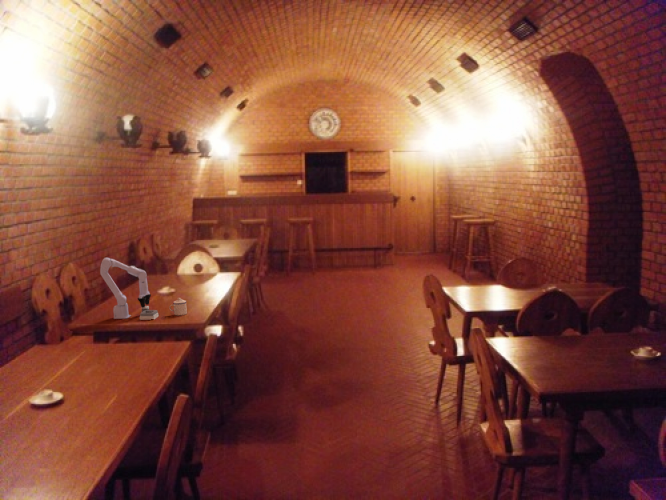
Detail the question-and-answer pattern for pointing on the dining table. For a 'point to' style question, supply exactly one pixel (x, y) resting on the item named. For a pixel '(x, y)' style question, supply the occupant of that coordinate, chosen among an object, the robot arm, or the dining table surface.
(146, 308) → the gray domed cylinder
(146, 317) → the grey square tray
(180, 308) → the teacup with lid
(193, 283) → the dining table surface
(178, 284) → the dining table surface
